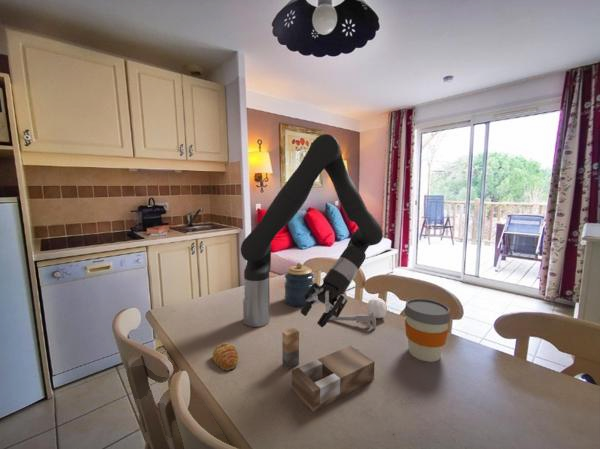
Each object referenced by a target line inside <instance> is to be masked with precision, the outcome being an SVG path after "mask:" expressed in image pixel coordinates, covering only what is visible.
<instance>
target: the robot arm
mask: <svg viewBox="0 0 600 449" xmlns="http://www.w3.org/2000/svg"><path fill="white" fill-rule="evenodd" d="M341 151H342V149H341V146H340V143H339V141H338V140H337V139H336V137H335V136H333V135H332V134H329V133H325V134H321V135H319V136H317V137H316V138H315V139H314V140H312V143H311V144H310V147H309V148H308V150H307V152H306V154H305V155H304V157H303V158H302V160H301V162H300V164H299V165H298V167H297V168H296V169H295V171H293V173H291V176H290V177H289V178H288V180H287V181H286V183H284V185H283V186H282V188H280V191H278V192H277V194H276V196H275V197H274V199H273V200H272V202H271V203H270V205H269V207H268V208H267V209H266V211H265V212H264V215H263V217H262V218H261V220H260V221H259V222H258V224H257V225H256V226H255V227H254V228H253V230H252V231H251V232H250V233H249V234H248V235H247V236H246V237H245V238H244V239H243V241H242V242H241V246H240V254H241V257H242V259H244V260H245V261H246V265H245V269H244V271H243V276H244V277H243V281H244V283H243V286H244V288H243V289H244V298H243V300H242V306H243V307H242V309H243V311H242V312H243V315H242V316H243V325H246V326H249V327H251V328H255V327H256V328H257V327H258V328H260V327H264V326H266V325H268V324H269V323H270V319H271V317H270V316H271V315H270V313H271V312H270V309H271V308H270V272H271V266H272V265H271V264H272V261H271V260H272V258H271V257H272V246H271V245H272V244H271V243H272V242H273V240H274V239H275V237H276V236H277V234H279V232H281V230H282V229H284V228H285V227H286V226H287V225H288V223H290V221H291V220H293V218H295V216H296V215H297V214H298V212H299V210H300V209H301V208H302V207H303V205H304V204H305V202H306V200H307V199H308V197H309V195H310V193H311V190H312V189H313V186H314V184H315V182H316V180H317V179H318V178H319V176H320V175H321V173H322V172H323V171H324V170H325V172H326V173H327V175H328V177H329V179H330V180H331V183H332V185H333V188H334V190H335V193H336V196H337V199H338V201H339V203H340V205H341V207H342V210H343V212H344V213H345V214H344V215H346V218H347V219H348V221H349V222H352V223H355V225H356V226H357V227H358V228H356V230H355V231H353V233H352V235H351V236H350V239H349V241H348V243H347V246H346V248H345V249H344V250H343V251H342V253H341V254H340V256H339V258H338V259H337V260H336V261H335V262H334V263H333V265H332V266H331V268H330V269H329V270H328V272H327V273H326V275H325V276H324V277H323V279H322V284H321V285H319V284H318V283H316V282H314V284H313V286H312V287H311V288H310V289H309V291H308V292H307V293H306V295H305V296H304V298H305V299H306V303H305V305H304V306H302V308H301V310H300V314H301V315H302V316H305V317H306V316H307V315H308V313H309V312H310V310H311V309H312V307H313V306H314V305H316V304H320V303H321V304H324V305H325V312H323V313H322V315H321V316H320V318H319V319H318V320H317V324H316V325H318V326H319V327H321V328H324V327H325V326H326V325H327V324H328V322H329V321H330V320H329V319H330V317H332V316H335V317H338V316H341V314H342V311H343V310H344V307H345V306H346V304H347V303H348V299H347V298H346V297H345V296H344V294H345V292H346V291H347V289H348V288H349V286H350V284H352V282H353V280H354V278H355V277H356V275H357V273H358V271H359V269H360V268H361V266H362V265H363V264H364V262H365V260H366V257H367V254H366V251H367V250H368V248H369V247H372V246H374V245H375V246H376V245H378V244H380V242H381V241H382V240H383V236H384V234H383V229H382V227H381V225H380V224H379V222H378V221H377V220H376V218H375V217H374V216H373V214H372V213H371V212H370V211H369V210H368V207H367V206H366V204H365V202H364V200H363V198H362V195H361V194H360V193H359V190H358V188H357V187H356V185H355V183H354V181H353V180H352V178H351V176H350V174H349V172H348V169H347V167H346V164H345V161H344V159H343V154H342V152H341ZM310 294H311V296H310V297H309V295H310ZM312 300H313V301H312Z"/></svg>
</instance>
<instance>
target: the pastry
mask: <svg viewBox="0 0 600 449" xmlns="http://www.w3.org/2000/svg"><path fill="white" fill-rule="evenodd" d="M212 361H213V362H214V363H215V365H217V367H219V368H220V369H221V370H225V371H229V370H232V369H234V368H236V367H237V365H238V364H239V354H238V351H237V350H236V347H235V346H233V345H230V343H228V342H224V343H221V344H219V345H218V346H216V348H214V349H213V352H212Z"/></svg>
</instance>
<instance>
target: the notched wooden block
mask: <svg viewBox="0 0 600 449" xmlns="http://www.w3.org/2000/svg"><path fill="white" fill-rule="evenodd" d="M373 380H375V360H373V359H372V358H370V357H369V356H367V355H366V354H365V353H362V352H361V351H360V350H358V349H357V348H355V347H353V346H352V345H348V346H346V347H344V348H342V349H338V350H336V351H334V352H331V353H329V354H327V355H325V356H321V357H320V358H318V359H315V360H313V361H311V362H307V363H305V364H303V365H300V366H298V367H296V368H293V369H291V390H292V391H294V393H295V394H296V395H297V396H298V397H299V399H301V401H302V402H303V403H304V404H305V405H306V406H307V407H308V408H309V409H310V411H311V412H312V413H314V412H316V411H318V410H320V409H321V408H324V407H325V406H327V405H329V404H330V403H332V402H335V401H336V400H339V399H340V398H342V397H343V396H346V395H348V394H349V393H351V392H353V391H355V390H356V389H358V388H360V387H362V386H364V385H365V384H367V383H370V382H372V381H373Z"/></svg>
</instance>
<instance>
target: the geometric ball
mask: <svg viewBox="0 0 600 449" xmlns="http://www.w3.org/2000/svg"><path fill="white" fill-rule="evenodd" d="M366 311H367V314H368V313H369V312H370V314H371V313H372V312H373V315H375V318H376V319H380V318H381V319H382V318H383V317H385V316H386V313H387V312H388V305H387V303H386V302H385V300H384V299H382V298H379V297H373V298H371V299H369V300H368V302H367V304H366Z"/></svg>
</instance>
